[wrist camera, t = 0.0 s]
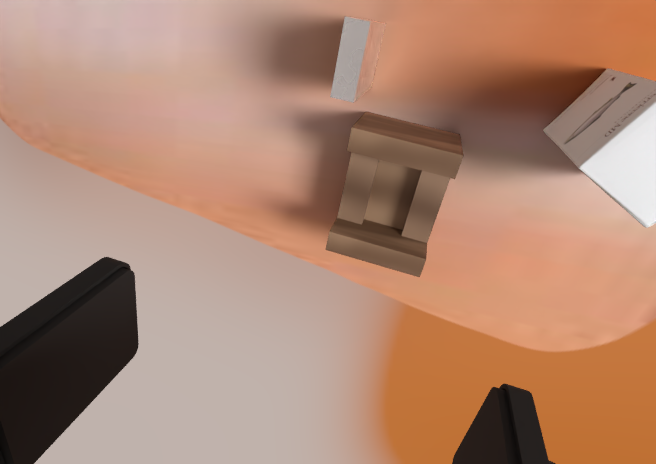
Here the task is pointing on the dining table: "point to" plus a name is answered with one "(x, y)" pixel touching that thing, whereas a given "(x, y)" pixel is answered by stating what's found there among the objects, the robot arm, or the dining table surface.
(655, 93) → the supplement box
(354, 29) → the grey slab
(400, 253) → the wooden spool frame
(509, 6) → the dining table surface
